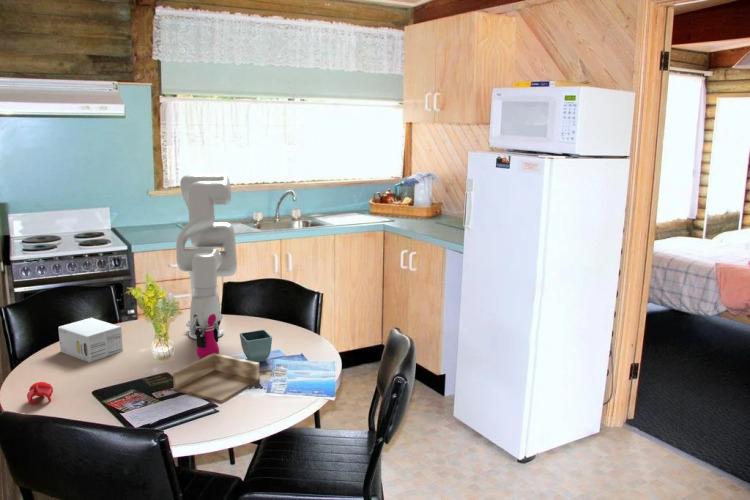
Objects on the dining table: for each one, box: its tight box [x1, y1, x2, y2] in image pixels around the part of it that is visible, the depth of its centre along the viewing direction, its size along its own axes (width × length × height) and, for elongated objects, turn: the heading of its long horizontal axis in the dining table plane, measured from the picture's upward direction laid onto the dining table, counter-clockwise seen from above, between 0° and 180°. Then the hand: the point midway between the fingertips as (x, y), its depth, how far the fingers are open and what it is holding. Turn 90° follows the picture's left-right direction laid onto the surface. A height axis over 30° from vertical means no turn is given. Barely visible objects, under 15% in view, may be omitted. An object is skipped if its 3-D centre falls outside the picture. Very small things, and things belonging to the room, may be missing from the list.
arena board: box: [173, 370, 261, 404], centre depth 191 cm, size 18×18×1 cm
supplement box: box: [57, 317, 124, 363], centre depth 216 cm, size 17×13×9 cm
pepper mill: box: [196, 314, 220, 360], centre depth 206 cm, size 7×7×20 cm
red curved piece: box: [26, 381, 54, 405], centre depth 178 cm, size 8×6×6 cm
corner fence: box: [172, 353, 261, 389], centre depth 190 cm, size 18×18×5 cm
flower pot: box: [239, 329, 273, 363], centre depth 210 cm, size 9×9×9 cm
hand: (207, 343), depth 206 cm, fingers closed on pepper mill, 5 cm apart
